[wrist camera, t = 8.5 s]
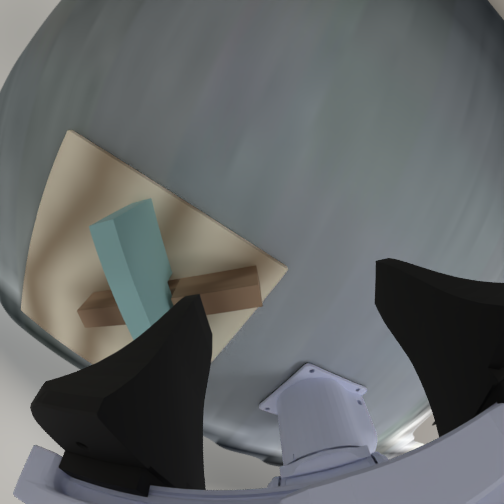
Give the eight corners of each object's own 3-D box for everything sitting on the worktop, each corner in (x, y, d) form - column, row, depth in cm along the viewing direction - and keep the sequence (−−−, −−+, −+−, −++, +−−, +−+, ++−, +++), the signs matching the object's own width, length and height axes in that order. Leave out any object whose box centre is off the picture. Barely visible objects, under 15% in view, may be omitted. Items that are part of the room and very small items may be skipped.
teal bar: (131, 203, 18) (88, 226, 12) (151, 198, 18) (113, 219, 12) (185, 358, 23) (173, 409, 17) (202, 356, 22) (193, 409, 17)
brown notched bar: (256, 265, 20) (258, 284, 17) (260, 284, 20) (262, 306, 17) (93, 292, 20) (76, 310, 17) (100, 308, 21) (85, 327, 18)
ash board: (286, 266, 20) (288, 269, 20) (172, 402, 26) (171, 406, 25) (72, 129, 16) (68, 129, 15) (23, 307, 21) (21, 309, 21)
